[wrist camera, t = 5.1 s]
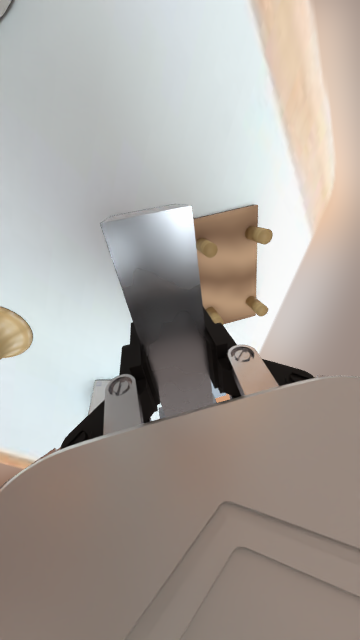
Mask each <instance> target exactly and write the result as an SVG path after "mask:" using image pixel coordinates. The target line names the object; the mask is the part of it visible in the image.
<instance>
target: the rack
mask: <svg viewBox="0 0 360 640" xmlns="http://www.w3.org/2000/svg"><path fill="white" fill-rule="evenodd" d="M193 221H194V231H195V240H196V249H197V258H198V267H199V276H200V286H201V295H202V304H203V307H204V308H205V310H206V311H207V313H208V314H209V316H210V317H211V319H212V320H213V322H214V323H219V322H220V323H222V325H223V324H226V323H230V322H234V321H237V320H241V319H245V318H248V317H252V316H255V315H256V314H257V315H259V316H264V315H265V314H266V313H267V312H268V308H267V307H266V306H265V305H264V304H262V303H261V302H260V301H259V300H257V299H256V270H257V242H258V243H261V244H267V243H269V242H270V241H271V239H272V231H271V230H269V229H265V228H260V227H257V223H258V205H251V206H246V207H242V208H238V209H234V210H229V211H225V212H221V213H217V214H212V215H208V216H204V217H200V218H195V219H193Z"/></svg>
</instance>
